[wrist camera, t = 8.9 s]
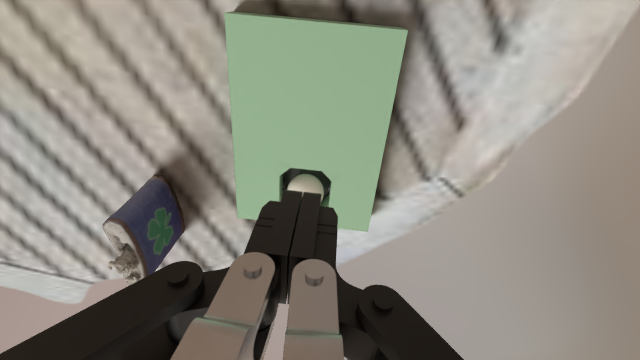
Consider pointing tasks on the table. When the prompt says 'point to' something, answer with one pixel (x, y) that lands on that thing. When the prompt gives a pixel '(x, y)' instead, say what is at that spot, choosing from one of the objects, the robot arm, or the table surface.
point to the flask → (145, 229)
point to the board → (310, 108)
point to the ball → (306, 184)
